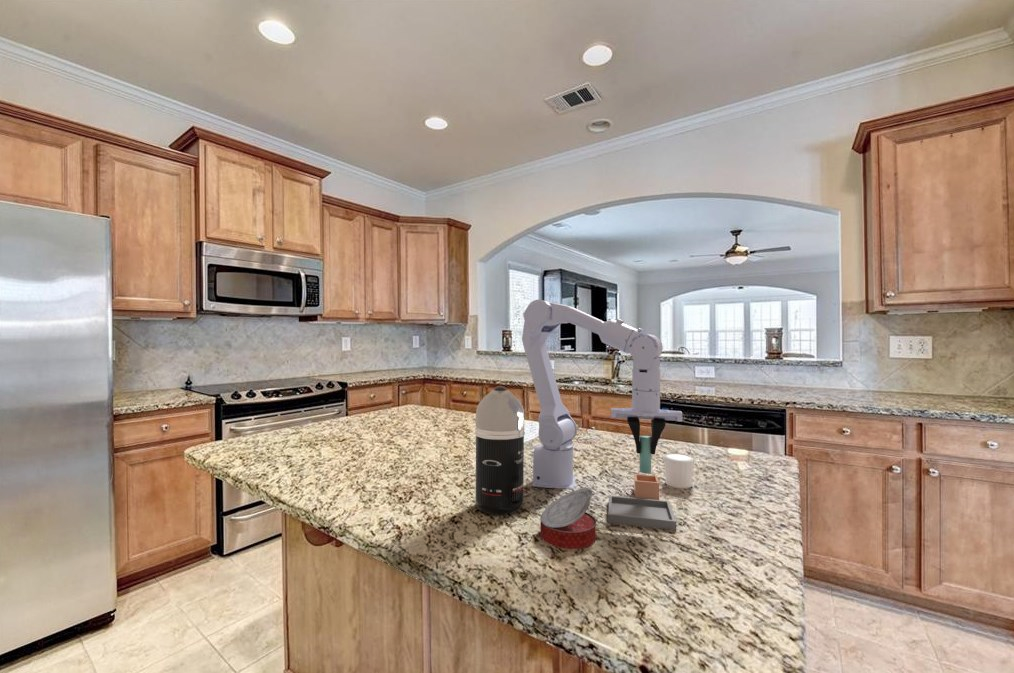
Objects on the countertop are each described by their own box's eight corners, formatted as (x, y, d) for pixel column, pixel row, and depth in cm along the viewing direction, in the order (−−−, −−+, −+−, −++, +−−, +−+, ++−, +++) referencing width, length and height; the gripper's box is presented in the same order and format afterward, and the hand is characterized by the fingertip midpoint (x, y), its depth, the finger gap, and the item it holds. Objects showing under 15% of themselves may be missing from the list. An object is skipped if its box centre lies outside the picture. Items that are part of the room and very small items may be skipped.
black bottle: (530, 501, 92) (531, 384, 92) (515, 520, 83) (516, 390, 83) (485, 495, 96) (486, 382, 96) (466, 513, 86) (467, 387, 86)
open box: (634, 499, 94) (635, 481, 94) (633, 491, 99) (634, 473, 99) (659, 501, 93) (659, 483, 93) (656, 493, 97) (657, 475, 97)
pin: (639, 473, 92) (640, 438, 92) (639, 469, 94) (639, 435, 94) (651, 474, 92) (652, 438, 91) (650, 470, 94) (650, 436, 94)
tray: (608, 525, 81) (608, 514, 81) (608, 504, 91) (608, 495, 91) (676, 532, 78) (676, 521, 78) (669, 510, 88) (669, 501, 88)
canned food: (585, 576, 72) (580, 536, 68) (532, 553, 78) (524, 515, 73) (608, 523, 80) (605, 485, 76) (559, 506, 86) (554, 469, 81)
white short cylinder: (697, 492, 98) (697, 461, 98) (665, 489, 100) (665, 459, 100) (690, 482, 105) (691, 453, 105) (661, 480, 107) (661, 451, 107)
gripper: (611, 390, 91) (610, 455, 91) (685, 393, 87) (684, 460, 87) (611, 386, 97) (610, 446, 98) (679, 389, 94) (678, 451, 94)
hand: (645, 452), depth 93 cm, fingers closed on pin, 2 cm apart
